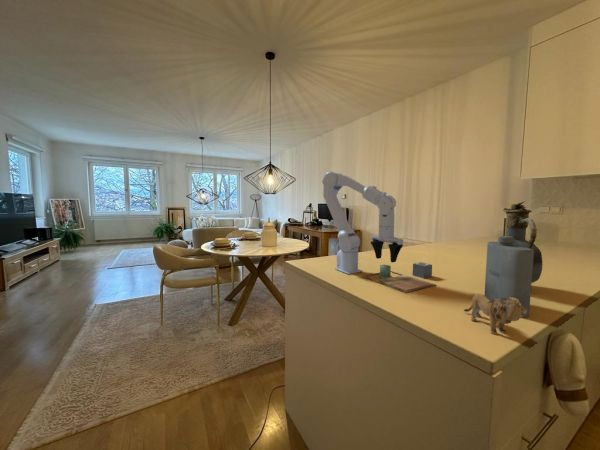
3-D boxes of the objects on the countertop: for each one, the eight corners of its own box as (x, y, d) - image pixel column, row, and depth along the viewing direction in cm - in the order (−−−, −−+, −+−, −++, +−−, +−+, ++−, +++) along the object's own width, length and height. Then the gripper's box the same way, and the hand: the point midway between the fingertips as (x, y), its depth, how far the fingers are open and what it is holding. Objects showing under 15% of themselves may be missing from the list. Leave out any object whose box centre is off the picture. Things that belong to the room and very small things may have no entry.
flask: (478, 295, 78) (481, 233, 77) (498, 296, 77) (503, 233, 76) (507, 316, 64) (512, 240, 62) (533, 318, 63) (539, 240, 61)
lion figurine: (529, 341, 52) (533, 300, 51) (508, 343, 51) (510, 302, 51) (472, 311, 67) (473, 279, 66) (454, 313, 66) (456, 280, 65)
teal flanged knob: (376, 276, 100) (376, 265, 99) (384, 274, 102) (385, 264, 102) (385, 279, 96) (385, 268, 95) (394, 277, 98) (394, 266, 97)
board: (361, 276, 99) (361, 275, 99) (390, 271, 107) (390, 270, 107) (405, 293, 81) (405, 291, 81) (436, 285, 88) (436, 283, 88)
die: (412, 275, 101) (412, 263, 100) (420, 273, 103) (420, 262, 103) (423, 278, 96) (424, 266, 96) (431, 277, 99) (432, 264, 98)
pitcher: (520, 282, 91) (526, 201, 89) (552, 301, 73) (560, 200, 71) (485, 279, 95) (490, 201, 93) (507, 296, 77) (514, 200, 75)
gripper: (365, 225, 102) (365, 257, 103) (394, 228, 89) (393, 265, 90) (378, 224, 105) (377, 256, 106) (407, 227, 92) (406, 262, 93)
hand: (385, 260), depth 98 cm, fingers open, 7 cm apart
